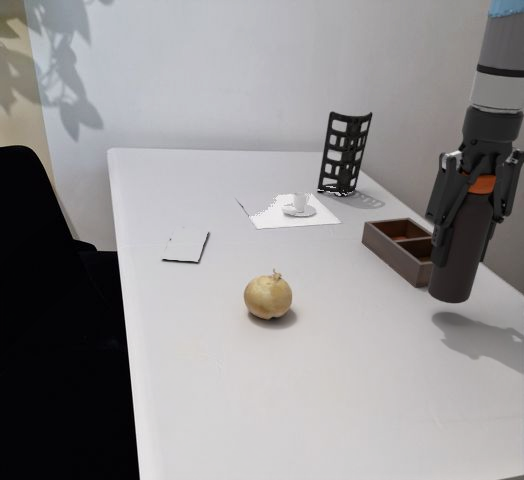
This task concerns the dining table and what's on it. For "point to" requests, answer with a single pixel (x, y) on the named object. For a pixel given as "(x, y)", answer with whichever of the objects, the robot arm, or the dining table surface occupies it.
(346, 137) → the holder
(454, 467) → the dining table surface
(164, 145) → the dining table surface
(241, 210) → the dining table surface
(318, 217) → the teacup and saucer
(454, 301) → the dark bottle
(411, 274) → the bottle holder
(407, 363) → the dining table surface
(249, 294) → the onion
